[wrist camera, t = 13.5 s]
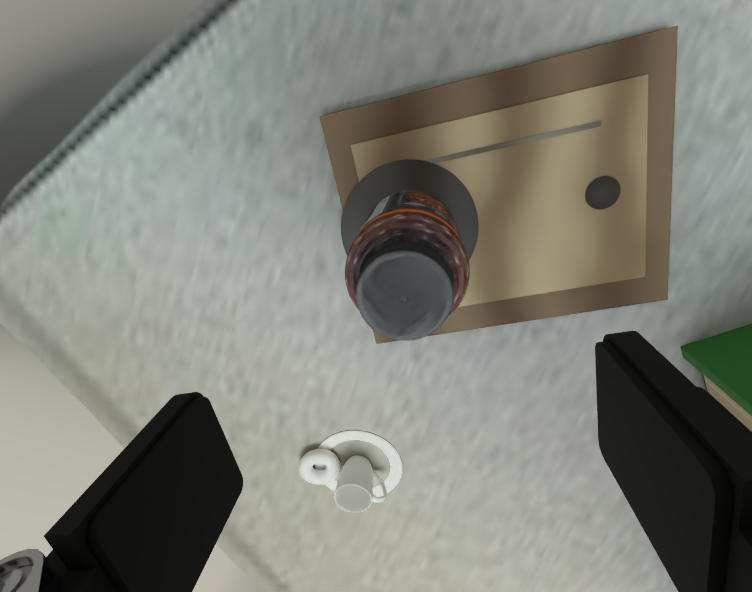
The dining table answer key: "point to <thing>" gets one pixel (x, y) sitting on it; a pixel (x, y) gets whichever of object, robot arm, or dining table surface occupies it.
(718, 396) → the hardback book
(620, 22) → the dining table surface
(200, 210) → the dining table surface
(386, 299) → the supplement bottle
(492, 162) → the brown flat wooden board
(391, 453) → the teacup and saucer
